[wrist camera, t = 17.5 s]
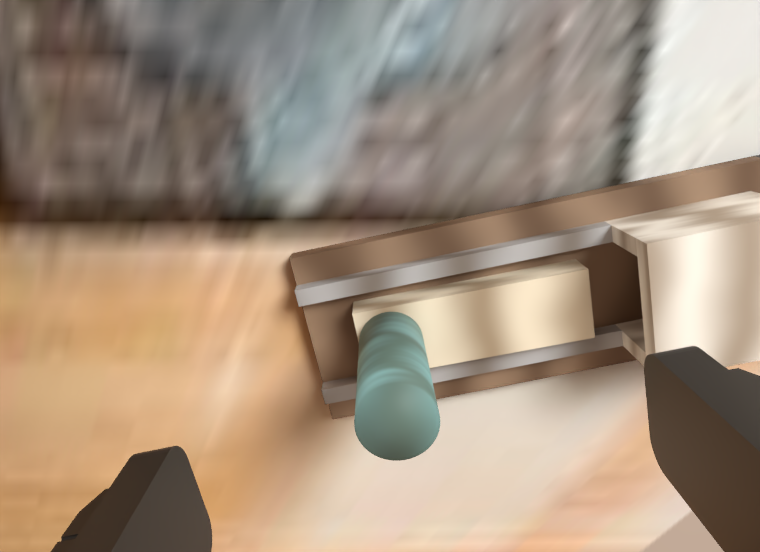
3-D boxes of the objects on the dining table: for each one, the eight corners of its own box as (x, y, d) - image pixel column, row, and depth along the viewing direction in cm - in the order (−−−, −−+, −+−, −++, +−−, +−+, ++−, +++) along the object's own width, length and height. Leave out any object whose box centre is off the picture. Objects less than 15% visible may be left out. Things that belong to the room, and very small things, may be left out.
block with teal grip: (367, 364, 43) (365, 471, 31) (353, 301, 42) (344, 388, 29) (582, 324, 42) (669, 417, 30) (575, 259, 41) (664, 329, 28)
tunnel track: (333, 409, 46) (326, 471, 38) (292, 253, 42) (274, 287, 34) (870, 303, 44) (976, 347, 36) (876, 130, 40) (996, 137, 32)
